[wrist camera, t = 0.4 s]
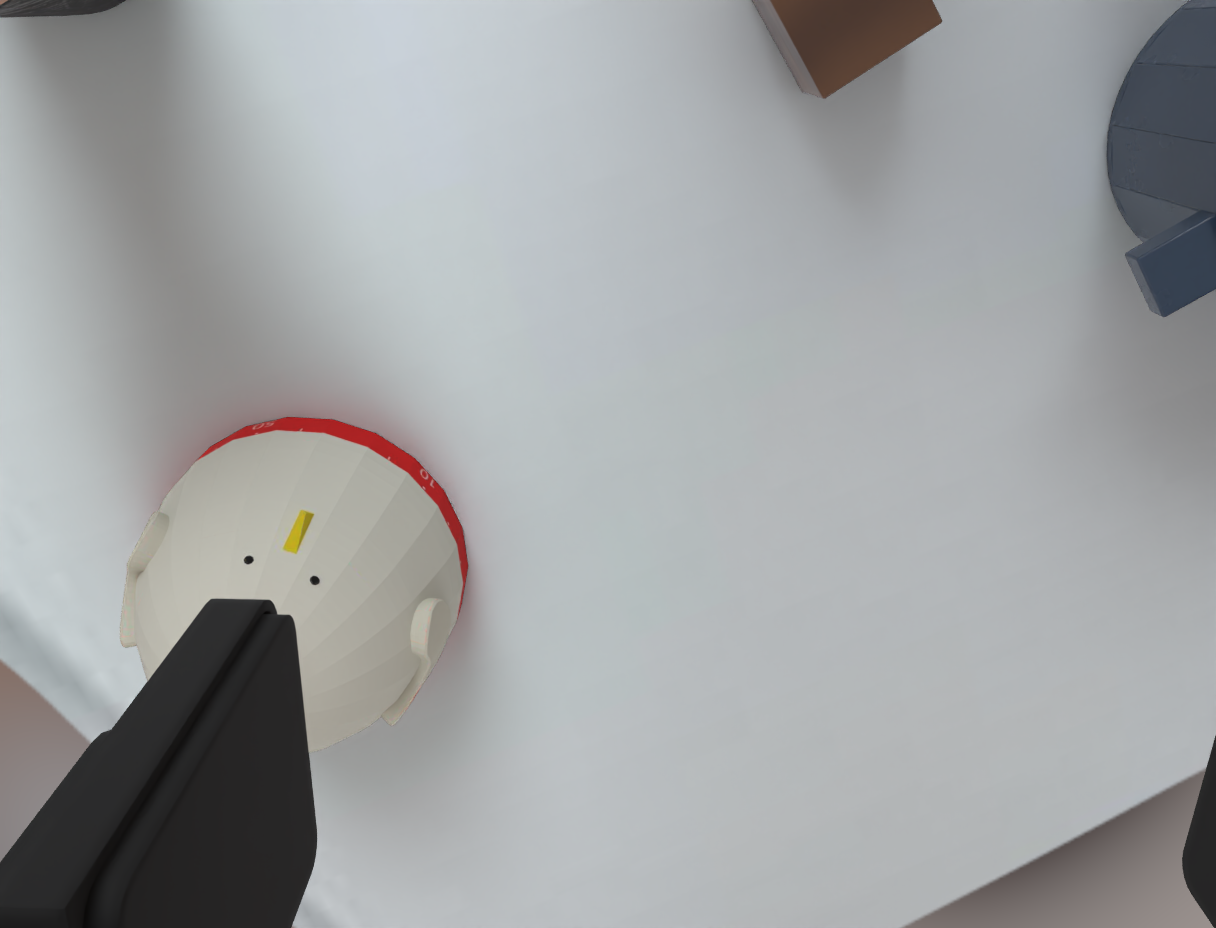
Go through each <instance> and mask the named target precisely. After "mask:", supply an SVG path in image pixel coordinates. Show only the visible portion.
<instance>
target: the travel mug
mask: <svg viewBox="0 0 1216 928" xmlns="http://www.w3.org/2000/svg"><path fill="white" fill-rule="evenodd" d="M124 1H125V0H0V17H35V16H67V15H82V14H92V13H97V12H101V11H105V10H108V9H110V8H113V7H115V6H117V5H119V4H120V3H122V2H124Z"/></svg>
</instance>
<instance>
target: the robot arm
mask: <svg viewBox="0 0 1216 928" xmlns="http://www.w3.org/2000/svg"><path fill="white" fill-rule="evenodd" d="M316 849H317V827H316V818H315V808H314V798H313V789H312V779H311V770H310V760H309V750H308V741H307V731H306V722H305V712H304V702H303V693H302V683H301V674H300V664H299V654H298V645H297V635H296V628H295V622H294V620H293V617H292V616H291V615H282V614H277V610H276V608H275V605H274V603H273V602H272V601H271V600H263V599H218V598H216V599H210V600H209V601H208V602H207V603H206V604H205V605H204V607H203V608H202V609H201V611H200V612H199V613H198V615H197V616H196V617H195V619H194V620H193V621H192V623H191V624H190V625H189V627H188V628H187V629H186V631H185V632H184V633H183V635H182V636H181V637H180V639H179V640H178V641H177V643H176V644H175V645H174V647H173V648H172V649H171V651H170V652H169V654H168V655H167V656H166V658H165V659H164V660H163V662H162V663H161V664H160V666H159V667H158V668H157V670H156V671H155V672H154V674H153V675H152V676H151V678H150V679H149V680H148V682H147V683H146V684H145V686H144V687H143V688H142V690H141V691H140V692H139V694H138V695H137V696H136V698H135V699H134V700H133V702H132V703H131V704H130V706H129V707H128V708H127V710H126V711H125V712H124V714H123V715H122V716H121V718H120V719H119V720H118V722H117V723H116V724H115V726H114V727H113V728H112V730H109V731H106V732H103V733H101V734H100V735H99V736H98V737H97V738H96V739H95V740H94V741H93V742H92V743H91V744H90V746H89V747H88V748H87V749H86V751H85V752H84V753H83V755H82V756H81V757H80V759H79V760H78V761H77V762H76V764H75V765H74V766H73V768H72V769H71V770H70V772H69V773H68V774H67V776H66V777H65V778H64V780H63V781H62V782H61V783H60V785H59V786H58V788H57V789H56V790H55V791H54V793H53V794H52V795H51V797H50V798H49V799H48V801H47V802H46V803H45V805H44V806H43V807H42V808H41V810H40V811H39V812H38V814H37V815H36V816H35V818H34V819H33V820H32V821H31V823H30V824H29V825H28V827H27V828H26V829H25V831H24V832H23V833H22V835H21V836H20V837H19V839H18V840H17V841H16V843H15V844H14V845H13V846H12V848H11V849H10V850H9V852H8V853H7V854H6V856H5V857H4V858H3V860H2V861H1V862H0V928H291V927H292V924H293V921H294V919H295V916H296V913H297V911H298V908H299V905H300V903H301V900H302V897H303V895H304V892H305V889H306V887H307V884H308V881H309V879H310V876H311V873H312V870H313V867H314V862H315V857H316ZM1182 863H1183V865H1182V866H1183V873H1184V878H1185V881H1186V884H1187V887H1188V889H1189V890H1190V892H1191V894H1192V895H1193V897H1194V898H1195V900H1196V901H1197V903H1198V905H1199V906H1200V908H1201V909H1202V910H1203V912H1204V913H1205V915H1206V916H1207V918H1208V919H1209V921H1210V922H1211V924H1212V925H1213V927H1214V928H1216V736H1215V740H1214V743H1213V747H1212V750H1211V754H1210V758H1209V761H1208V765H1207V768H1206V772H1205V775H1204V779H1203V783H1202V786H1201V790H1200V793H1199V797H1198V800H1197V804H1196V808H1195V811H1194V815H1193V818H1192V822H1191V825H1190V829H1189V832H1188V836H1187V840H1186V843H1185V847H1184V850H1183V857H1182Z"/></svg>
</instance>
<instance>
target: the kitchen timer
mask: <svg viewBox="0 0 1216 928" xmlns="http://www.w3.org/2000/svg"><path fill="white" fill-rule="evenodd" d="M467 570H468V562H467V555H466V549H465V542H464V536H463V530H462V526H461V524H460V522H459V520H458V518H457V516H456V514H455V512H454V510H453V508H452V506H451V504H450V502H449V500H448V498H447V496H446V494H445V491H444V490H443V489H442V488H441V487H440V486H439V484H438V483H437V482H436V481H435V480H434V479H433V478H432V477H431V476H430V475H429V473H428V472H427V471H426V470H425V469H424V468H423V467H422V466H421V465H420V463H419V462H418V461H417V460H416V459H415V458H414V457H412V456H410V455H409V454H407V453H406V452H404V451H403V450H401V449H400V448H398V447H396V446H395V445H393V444H392V443H390V442H389V441H387V440H386V439H384V438H383V437H381V436H379V435H378V434H376V433H373V432H370V431H367V430H364V429H361V428H358V427H354V426H351V425H348V424H345V423H342V422H339V421H336V420H332V419H314V418H296V417H286V418H282V419H277V420H273V421H268V422H264V423H259V424H255V425H250V426H246V427H244V428H242V429H241V430H239V431H237V432H235V433H234V434H232V435H230V436H228V437H227V438H225V439H223V440H221V441H220V442H218V443H216V444H214V445H213V446H211V447H210V448H209V449H208V450H207V451H206V452H205V453H204V454H203V455H202V456H201V457H200V458H199V459H198V460H197V461H196V462H195V463H194V464H193V465H192V466H191V467H190V468H189V470H188V471H187V472H186V473H185V474H184V475H183V476H182V477H181V479H180V480H179V481H178V482H177V483H176V484H175V485H174V487H173V488H172V489H171V490H170V491H169V492H168V494H167V495H166V497H165V498H164V500H163V502H162V504H161V506H160V509H159V511H157V512H154V513H153V514H152V516H151V517H150V519H149V521H148V523H147V525H146V527H145V529H144V531H143V533H142V535H141V537H140V539H139V541H138V543H137V545H136V547H135V548H134V550H133V552H132V554H131V556H130V558H129V561H128V563H127V577H126V584H125V591H124V598H123V606H122V613H121V623H120V641H121V644H122V646H123V647H125V648H127V647H132V646H137V648H138V651H139V655H140V658H141V662H142V665H143V668H144V672H145V675H146V678H147V681H148V680H149V679H150V678H151V676H152V675H153V674H154V672H155V671H156V670H157V668H158V667H159V666H160V664H161V663H162V662H163V660H164V659H165V658H166V656H167V655H168V654H169V652H170V651H171V649H172V648H173V647H174V645H175V644H176V643H177V641H178V640H179V639H180V637H181V636H182V635H183V633H184V632H185V631H186V629H187V628H188V627H189V625H190V624H191V623H192V621H193V620H194V619H195V617H196V616H197V615H198V613H199V612H200V611H201V609H202V608H203V607H204V605H205V604H206V603H207V602H208V601H209V600H210V599H216V598H218V599H263V600H271V601H272V602H273V603H274V605H275V608H276V610H277V614H282V615H291V616H292V617H293V620H294V622H295V628H296V635H297V645H298V654H299V664H300V674H301V683H302V693H303V702H304V712H305V722H306V731H307V741H308V750H309V753H311V752H315V751H319V750H322V749H325V748H327V747H329V746H332V745H334V744H336V743H338V742H340V741H342V740H344V739H346V738H348V737H350V736H352V735H354V734H356V733H358V732H360V731H362V730H364V729H365V728H367V727H369V726H370V725H371V724H373V723H374V722H375V721H376V720H377V719H378V718H380V717H381V716H382V718H383V719H384V720H385V721H386V722H387V723H388V724H389V725H390V726H394V725H395V724H396V723H397V722H398V720H399V719H400V718H401V716H402V715H403V714H404V712H405V711H406V709H407V708H408V706H409V705H410V703H411V702H412V700H413V699H414V697H415V696H416V694H417V693H418V691H419V689H420V688H421V686H422V685H423V683H424V682H425V680H426V679H427V677H428V676H429V674H430V673H431V671H432V670H433V668H434V666H435V665H436V663H437V661H438V659H439V657H440V655H441V653H442V651H443V649H444V647H445V644H446V641H447V639H448V637H449V635H450V633H451V631H452V629H453V627H454V625H455V623H456V621H457V618H458V615H459V611H460V608H461V604H462V599H463V593H464V588H465V582H466V576H467Z"/></svg>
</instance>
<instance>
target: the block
mask: <svg viewBox="0 0 1216 928" xmlns="http://www.w3.org/2000/svg"><path fill="white" fill-rule="evenodd" d="M752 1H753V3H754V5H755V7H756V8H757V10H758V12H759V14H760V16H761V18H762V19H763V21H764V23H765V25H766V27H767V29H768V31H769V32H770V34H771V36H772V38H773V40H774V42H775V43H776V45H777V47H778V49H779V51H780V53H781V54H782V56H783V58H784V60H785V62H786V64H787V65H788V67H789V69H790V71H791V73H792V75H793V76H794V78H795V80H796V82H797V84H798V86H799V87H800V89H801V91H802V92H803V93H806V94H810V95H813V96H816V97H820V98H823V99H824V98H826V97H828V96H830V95H831V94H833V93H834V92H836V91H837V90H839V89H840V88H842V87H843V86H845V85H846V84H848V83H850V82H851V81H853V80H854V79H856V78H857V77H859V76H860V75H862V74H863V73H865V72H867V71H868V70H870V69H871V68H873V67H874V66H876V65H877V64H879V63H880V62H882V61H883V60H885V59H887V58H888V57H890V56H891V55H893V54H894V53H896V52H897V51H899V50H900V49H902V48H903V47H905V46H907V45H908V44H910V43H911V42H913V41H914V40H916V39H917V38H919V37H920V36H922V35H924V34H925V33H927V32H928V31H930V30H931V29H933V28H934V27H936V26H937V25H939V24H940V23H941V22H942V19H941V17H940V15H939V13H938V11H937V9H936V7H935V4H934V2H933V0H752Z"/></svg>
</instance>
